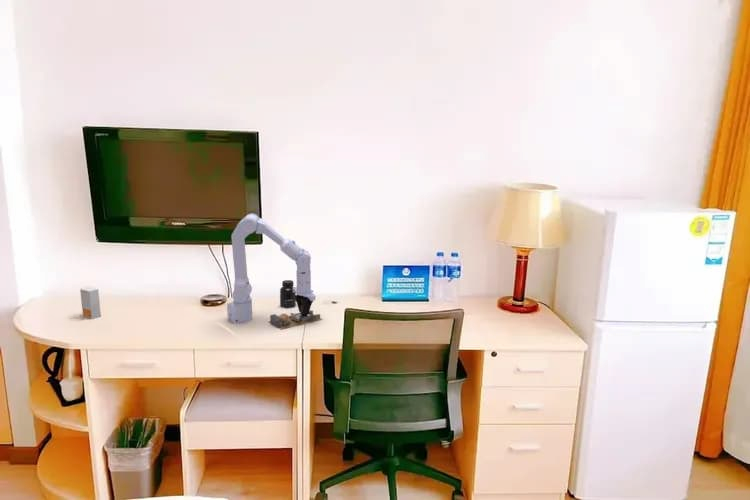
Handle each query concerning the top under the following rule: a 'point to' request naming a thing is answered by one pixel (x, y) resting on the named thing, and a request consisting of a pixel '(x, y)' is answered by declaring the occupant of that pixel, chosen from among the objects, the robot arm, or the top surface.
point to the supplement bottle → (287, 294)
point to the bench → (277, 321)
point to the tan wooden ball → (284, 318)
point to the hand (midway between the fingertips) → (304, 313)
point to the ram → (299, 315)
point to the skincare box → (90, 302)
